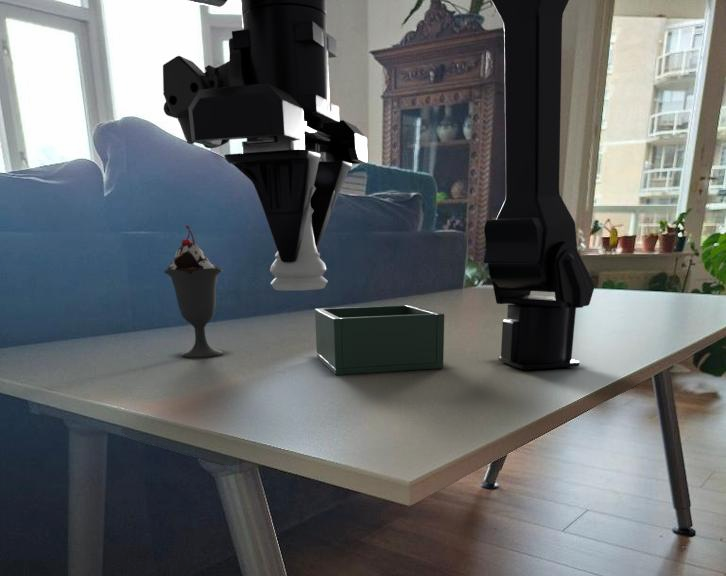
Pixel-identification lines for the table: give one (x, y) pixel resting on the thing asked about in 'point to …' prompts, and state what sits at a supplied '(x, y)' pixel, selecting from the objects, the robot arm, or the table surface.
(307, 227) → the rook chess piece
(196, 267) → the sundae
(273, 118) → the robot arm
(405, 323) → the bin
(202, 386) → the table surface
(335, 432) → the table surface
